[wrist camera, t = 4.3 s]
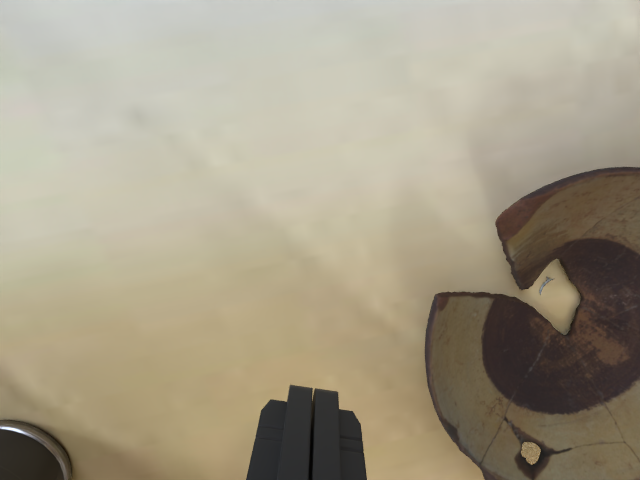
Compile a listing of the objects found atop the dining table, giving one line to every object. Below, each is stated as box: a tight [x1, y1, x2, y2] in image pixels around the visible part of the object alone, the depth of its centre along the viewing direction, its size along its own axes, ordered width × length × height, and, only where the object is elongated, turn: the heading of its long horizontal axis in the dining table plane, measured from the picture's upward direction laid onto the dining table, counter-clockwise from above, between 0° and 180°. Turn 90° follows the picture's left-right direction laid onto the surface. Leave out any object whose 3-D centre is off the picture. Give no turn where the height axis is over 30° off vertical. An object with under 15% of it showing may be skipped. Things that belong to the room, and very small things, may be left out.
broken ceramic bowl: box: [425, 167, 640, 480], centre depth 26 cm, size 22×30×8 cm
